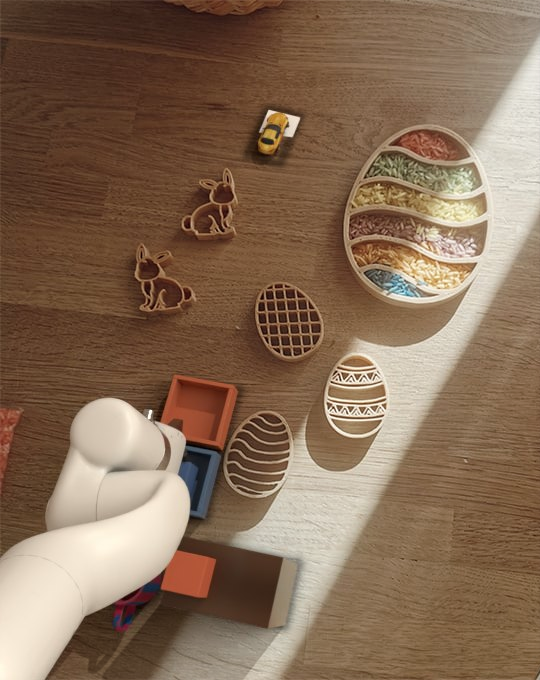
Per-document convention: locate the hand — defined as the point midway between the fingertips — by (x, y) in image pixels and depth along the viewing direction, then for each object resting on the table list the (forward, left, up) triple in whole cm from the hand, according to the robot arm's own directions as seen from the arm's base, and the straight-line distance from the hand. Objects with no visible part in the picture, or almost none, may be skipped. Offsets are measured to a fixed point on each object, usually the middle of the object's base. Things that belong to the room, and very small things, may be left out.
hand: (178, 479), depth 103 cm
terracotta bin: (+10, 0, -3) cm, 11 cm away
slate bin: (0, 0, -3) cm, 3 cm away
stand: (-12, -12, -3) cm, 17 cm away
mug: (-16, +3, -3) cm, 16 cm away
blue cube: (0, 0, -1) cm, 1 cm away
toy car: (+60, +1, -3) cm, 60 cm away
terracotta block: (-12, -9, +13) cm, 20 cm away
